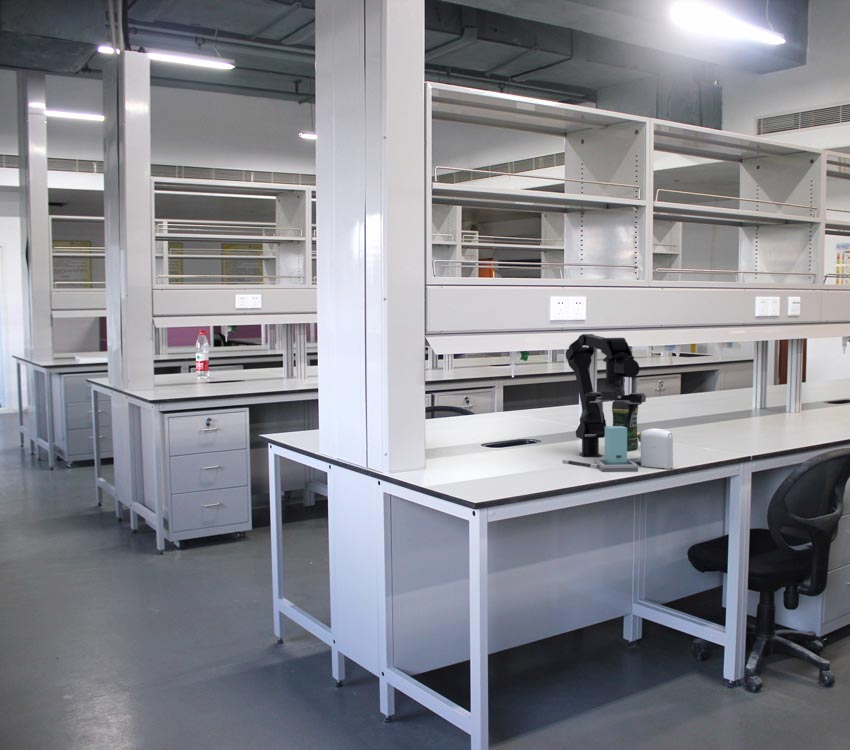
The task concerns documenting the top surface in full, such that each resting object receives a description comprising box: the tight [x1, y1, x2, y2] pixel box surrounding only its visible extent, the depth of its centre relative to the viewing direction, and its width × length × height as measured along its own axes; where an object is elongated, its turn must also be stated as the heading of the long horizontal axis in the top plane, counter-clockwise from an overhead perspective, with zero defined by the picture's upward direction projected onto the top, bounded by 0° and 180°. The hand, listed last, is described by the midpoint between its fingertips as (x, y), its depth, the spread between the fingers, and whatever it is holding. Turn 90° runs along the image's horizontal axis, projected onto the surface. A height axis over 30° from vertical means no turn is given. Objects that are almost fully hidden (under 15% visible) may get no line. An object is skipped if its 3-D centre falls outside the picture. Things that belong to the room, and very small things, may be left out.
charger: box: [604, 425, 628, 465], centre depth 255 cm, size 5×6×12 cm
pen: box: [561, 459, 598, 469], centre depth 262 cm, size 14×1×1 cm, turn 40°
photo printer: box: [640, 427, 674, 470], centre depth 256 cm, size 10×4×12 cm, turn 47°
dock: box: [594, 458, 639, 473], centre depth 255 cm, size 11×11×2 cm
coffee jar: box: [611, 400, 639, 452], centre depth 292 cm, size 10×8×19 cm
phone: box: [629, 457, 641, 466], centre depth 263 cm, size 7×14×1 cm, turn 105°
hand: (615, 423), depth 264 cm, fingers open, 9 cm apart
